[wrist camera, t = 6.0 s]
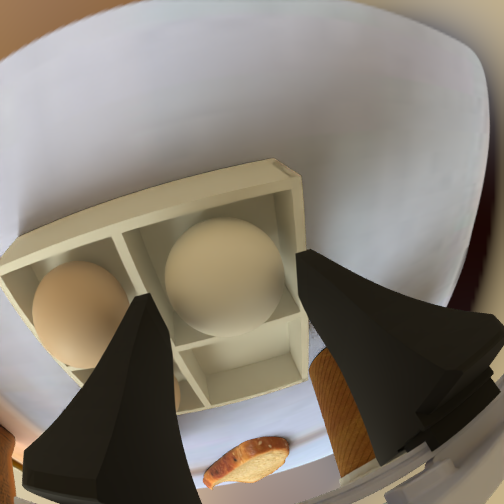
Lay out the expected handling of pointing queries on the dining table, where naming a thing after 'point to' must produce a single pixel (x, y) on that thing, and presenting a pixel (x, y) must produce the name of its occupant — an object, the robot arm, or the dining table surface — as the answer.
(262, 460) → the slice of bread
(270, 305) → the white egg
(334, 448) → the disposable coffee cup
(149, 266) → the egg carton
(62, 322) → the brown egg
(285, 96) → the dining table surface
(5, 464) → the pancake mix bag
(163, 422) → the robot arm
